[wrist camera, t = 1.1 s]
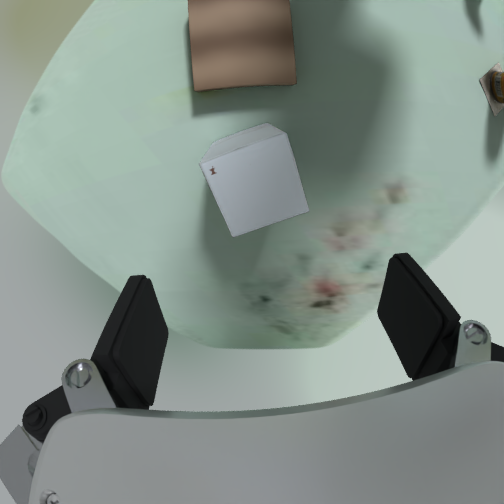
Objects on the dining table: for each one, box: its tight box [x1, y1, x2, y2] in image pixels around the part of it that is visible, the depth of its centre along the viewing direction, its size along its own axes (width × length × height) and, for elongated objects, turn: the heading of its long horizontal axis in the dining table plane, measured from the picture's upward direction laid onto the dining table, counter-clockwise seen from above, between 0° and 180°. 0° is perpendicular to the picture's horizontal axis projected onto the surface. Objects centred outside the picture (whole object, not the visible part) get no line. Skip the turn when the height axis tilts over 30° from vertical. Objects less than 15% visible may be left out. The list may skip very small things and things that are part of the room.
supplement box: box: [199, 123, 309, 237], centre depth 27 cm, size 7×7×13 cm
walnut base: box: [188, 0, 297, 92], centre depth 24 cm, size 12×11×3 cm
